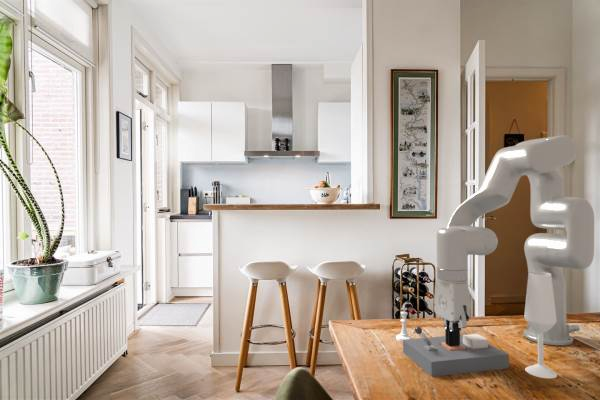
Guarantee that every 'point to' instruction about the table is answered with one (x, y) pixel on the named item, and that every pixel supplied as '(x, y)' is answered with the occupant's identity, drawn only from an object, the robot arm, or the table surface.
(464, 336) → the button white
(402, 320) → the chess piece
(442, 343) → the button terracotta
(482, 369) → the panel
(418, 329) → the toggle lever
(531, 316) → the champagne flute
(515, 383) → the table surface
